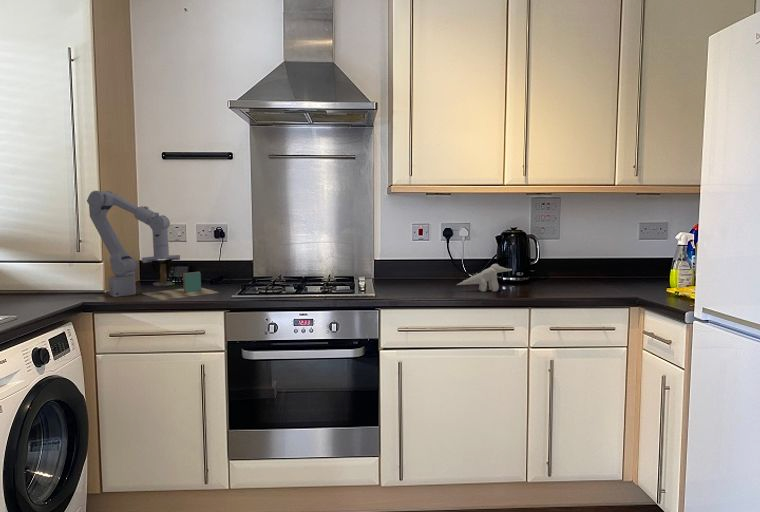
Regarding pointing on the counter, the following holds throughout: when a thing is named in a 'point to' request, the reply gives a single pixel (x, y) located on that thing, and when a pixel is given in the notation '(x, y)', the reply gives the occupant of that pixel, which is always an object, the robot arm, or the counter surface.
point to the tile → (192, 281)
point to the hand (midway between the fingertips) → (162, 278)
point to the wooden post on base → (162, 277)
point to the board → (178, 293)
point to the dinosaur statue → (486, 278)
